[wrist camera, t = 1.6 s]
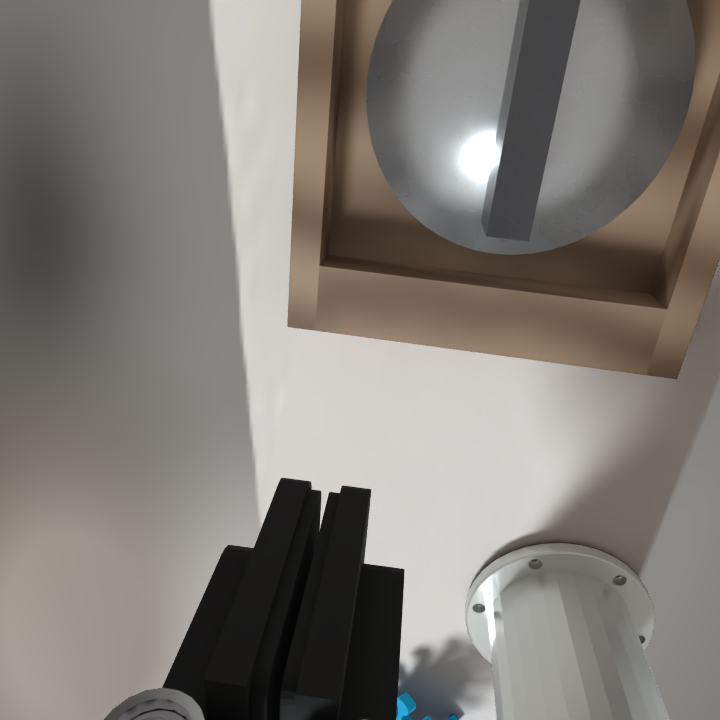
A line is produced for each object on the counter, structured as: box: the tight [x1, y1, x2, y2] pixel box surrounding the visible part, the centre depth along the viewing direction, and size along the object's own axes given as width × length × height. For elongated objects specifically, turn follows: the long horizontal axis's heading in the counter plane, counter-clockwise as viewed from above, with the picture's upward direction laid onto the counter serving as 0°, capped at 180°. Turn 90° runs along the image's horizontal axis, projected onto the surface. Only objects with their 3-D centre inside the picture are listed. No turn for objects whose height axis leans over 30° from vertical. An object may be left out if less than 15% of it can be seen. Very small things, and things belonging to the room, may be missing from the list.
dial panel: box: [288, 0, 720, 379], centre depth 26 cm, size 24×20×4 cm
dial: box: [366, 0, 695, 255], centre depth 24 cm, size 14×14×5 cm
